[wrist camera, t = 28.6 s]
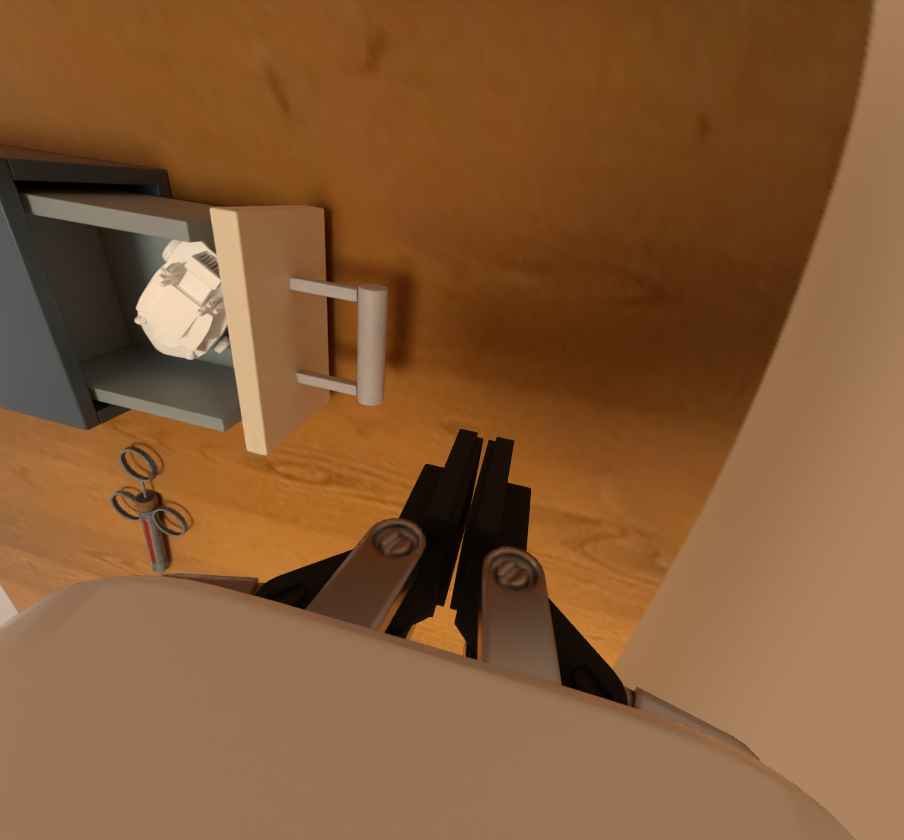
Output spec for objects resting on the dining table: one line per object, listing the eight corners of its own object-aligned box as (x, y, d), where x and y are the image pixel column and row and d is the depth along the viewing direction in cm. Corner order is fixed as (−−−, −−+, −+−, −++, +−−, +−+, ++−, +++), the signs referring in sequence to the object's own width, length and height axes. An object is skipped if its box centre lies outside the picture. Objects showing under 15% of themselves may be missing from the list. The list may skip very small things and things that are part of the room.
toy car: (283, 281, 22) (247, 314, 19) (218, 362, 26) (179, 400, 23) (202, 210, 20) (146, 232, 17) (145, 309, 24) (90, 342, 21)
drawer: (414, 222, 21) (356, 230, 15) (400, 417, 26) (355, 479, 20) (90, 171, 23) (-67, 161, 17) (141, 358, 29) (35, 397, 23)
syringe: (139, 566, 44) (124, 579, 43) (104, 429, 35) (84, 439, 33) (203, 591, 43) (191, 604, 42) (184, 458, 34) (168, 469, 33)
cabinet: (166, 170, 23) (-18, 155, 16) (205, 373, 29) (87, 431, 22) (-52, 136, 25) (-303, 110, 18) (27, 332, 32) (-135, 373, 24)
